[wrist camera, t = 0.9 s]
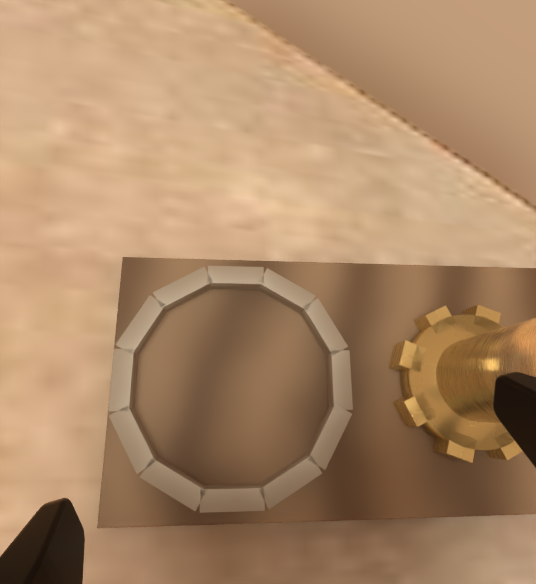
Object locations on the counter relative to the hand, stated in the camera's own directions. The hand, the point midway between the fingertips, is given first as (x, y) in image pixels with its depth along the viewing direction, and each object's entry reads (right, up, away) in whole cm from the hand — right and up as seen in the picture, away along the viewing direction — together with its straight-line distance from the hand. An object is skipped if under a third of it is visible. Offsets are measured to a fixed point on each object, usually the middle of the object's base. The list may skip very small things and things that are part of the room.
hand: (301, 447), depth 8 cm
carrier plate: (+4, -2, +16) cm, 16 cm away
